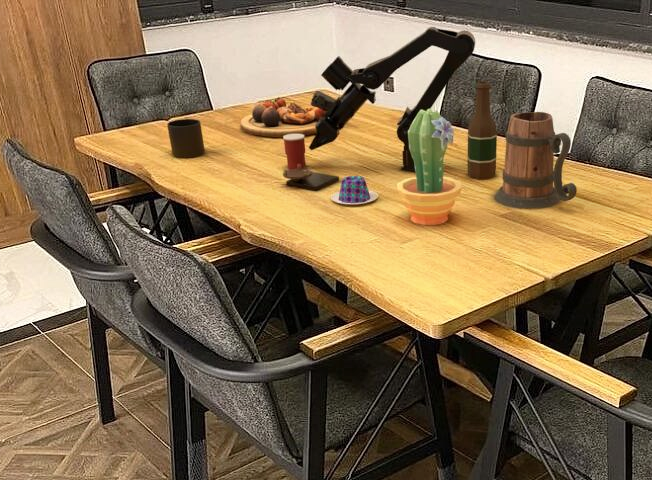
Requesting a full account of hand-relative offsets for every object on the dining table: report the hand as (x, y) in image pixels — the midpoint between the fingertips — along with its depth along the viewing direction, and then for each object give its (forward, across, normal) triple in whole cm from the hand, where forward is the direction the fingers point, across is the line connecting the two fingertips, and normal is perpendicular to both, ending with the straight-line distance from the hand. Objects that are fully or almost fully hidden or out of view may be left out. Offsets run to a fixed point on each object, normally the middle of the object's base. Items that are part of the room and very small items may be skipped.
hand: (313, 144), depth 232 cm
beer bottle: (-28, +6, +38) cm, 48 cm away
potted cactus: (-20, +40, +30) cm, 54 cm away
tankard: (-38, +26, +48) cm, 67 cm away
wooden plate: (+17, -46, -8) cm, 50 cm away
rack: (+3, +14, +6) cm, 16 cm away
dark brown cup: (+34, -13, -25) cm, 44 cm away
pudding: (-6, +27, +16) cm, 32 cm away
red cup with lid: (+8, 0, +1) cm, 8 cm away
